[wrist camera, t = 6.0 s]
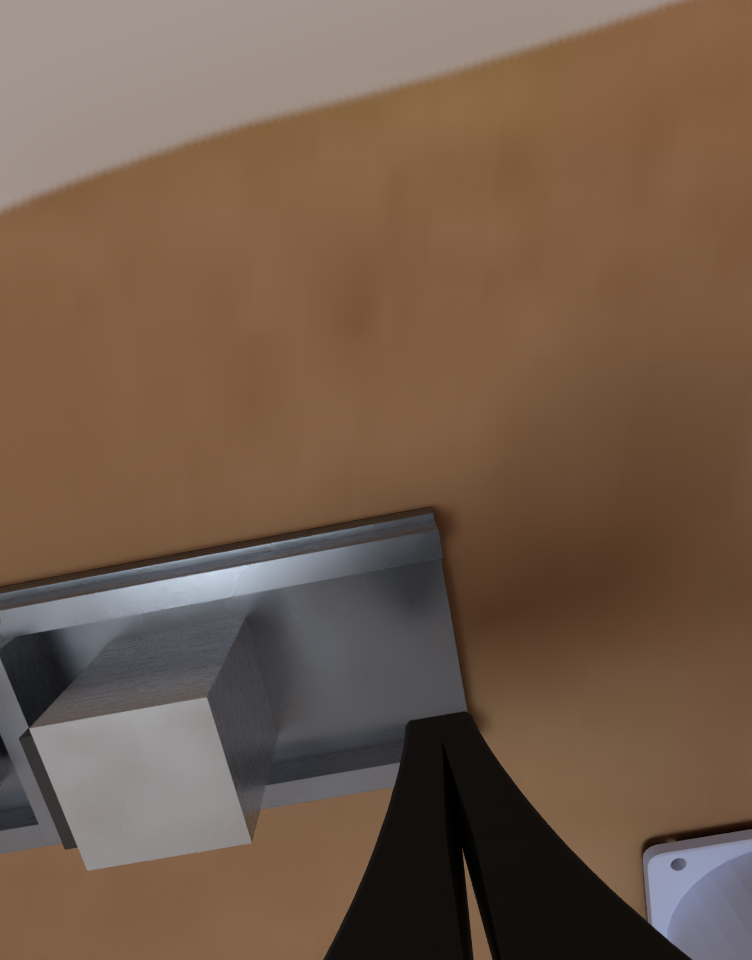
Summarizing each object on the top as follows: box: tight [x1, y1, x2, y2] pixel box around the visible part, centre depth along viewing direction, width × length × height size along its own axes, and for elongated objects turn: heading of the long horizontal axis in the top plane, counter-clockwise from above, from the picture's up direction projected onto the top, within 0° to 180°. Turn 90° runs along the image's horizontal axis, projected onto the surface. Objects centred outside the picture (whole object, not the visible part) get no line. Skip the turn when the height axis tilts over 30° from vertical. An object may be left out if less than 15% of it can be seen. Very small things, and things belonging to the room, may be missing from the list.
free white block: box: [19, 617, 278, 871], centre depth 13 cm, size 5×4×4 cm
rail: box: [0, 507, 467, 854], centre depth 13 cm, size 20×8×4 cm, turn 101°
